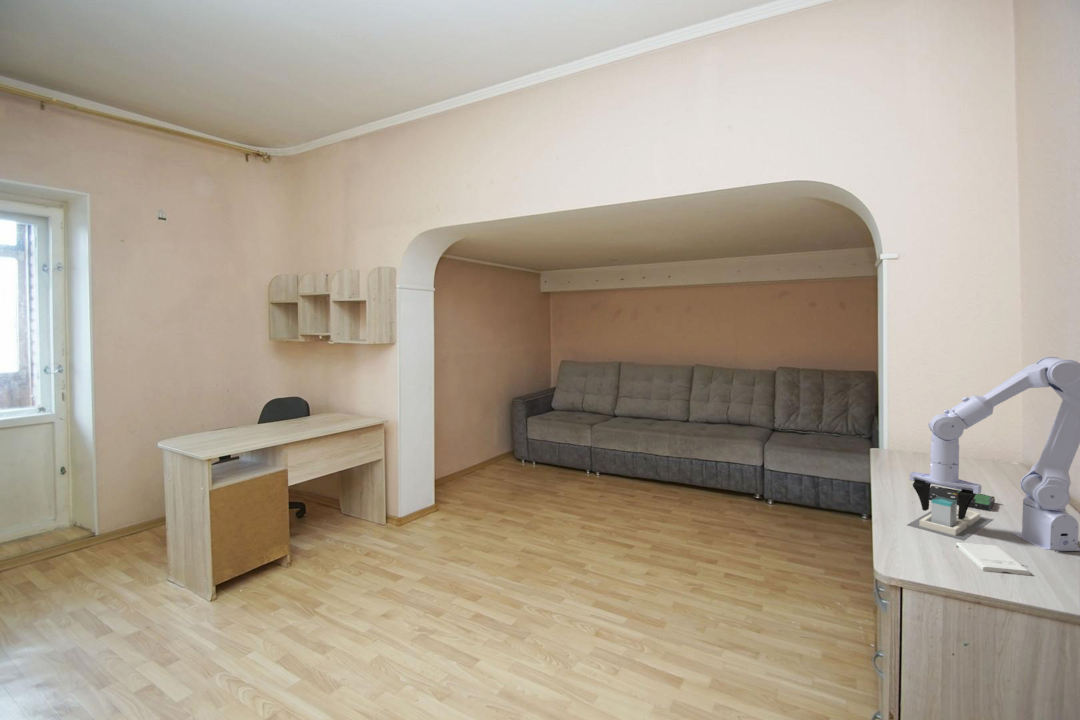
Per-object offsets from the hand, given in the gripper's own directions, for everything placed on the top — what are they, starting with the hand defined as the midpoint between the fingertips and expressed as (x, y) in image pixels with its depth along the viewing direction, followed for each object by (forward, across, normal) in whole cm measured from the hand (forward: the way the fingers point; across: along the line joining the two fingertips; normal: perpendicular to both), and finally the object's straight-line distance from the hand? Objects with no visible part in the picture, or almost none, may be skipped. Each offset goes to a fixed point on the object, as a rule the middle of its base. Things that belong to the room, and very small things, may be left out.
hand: (943, 513), depth 131 cm
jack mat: (+4, 0, -5) cm, 6 cm away
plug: (+3, 0, 0) cm, 3 cm away
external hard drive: (+5, -13, +12) cm, 18 cm away
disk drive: (+5, +4, -26) cm, 26 cm away
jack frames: (+4, 0, -5) cm, 6 cm away
